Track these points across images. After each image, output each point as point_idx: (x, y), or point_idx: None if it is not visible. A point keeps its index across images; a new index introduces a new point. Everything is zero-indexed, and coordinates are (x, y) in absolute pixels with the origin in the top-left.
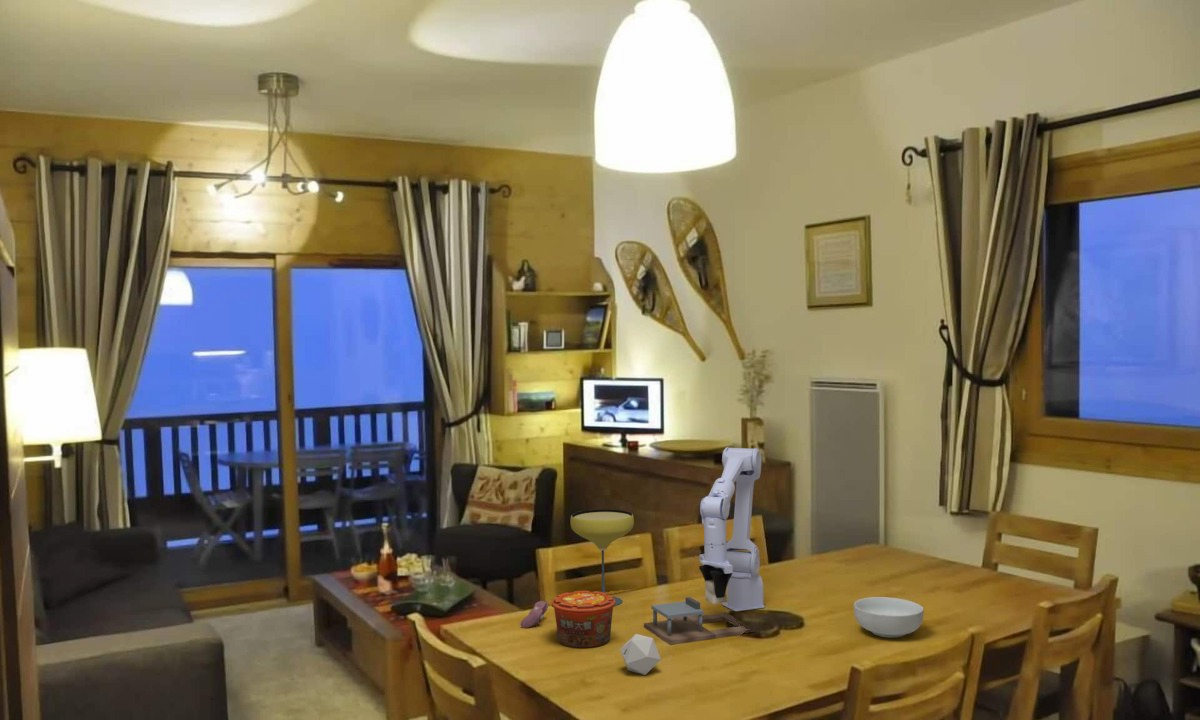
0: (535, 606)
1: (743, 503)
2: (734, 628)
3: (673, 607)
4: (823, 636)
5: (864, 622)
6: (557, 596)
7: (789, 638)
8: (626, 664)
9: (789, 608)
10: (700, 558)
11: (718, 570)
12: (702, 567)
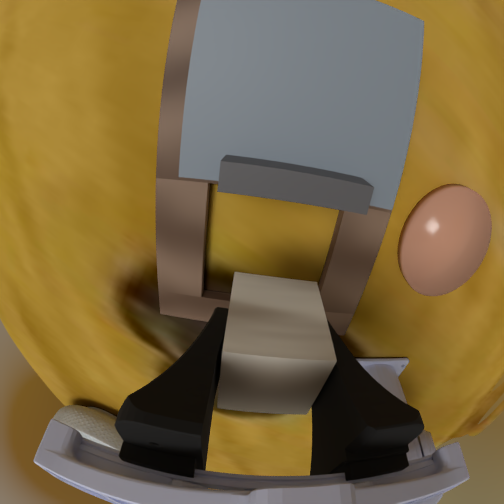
0: None
1: None
2: (186, 269)
3: (336, 72)
4: (103, 372)
5: (77, 413)
6: None
7: (102, 330)
8: None
9: (287, 423)
10: (454, 464)
11: (169, 456)
12: (381, 435)
